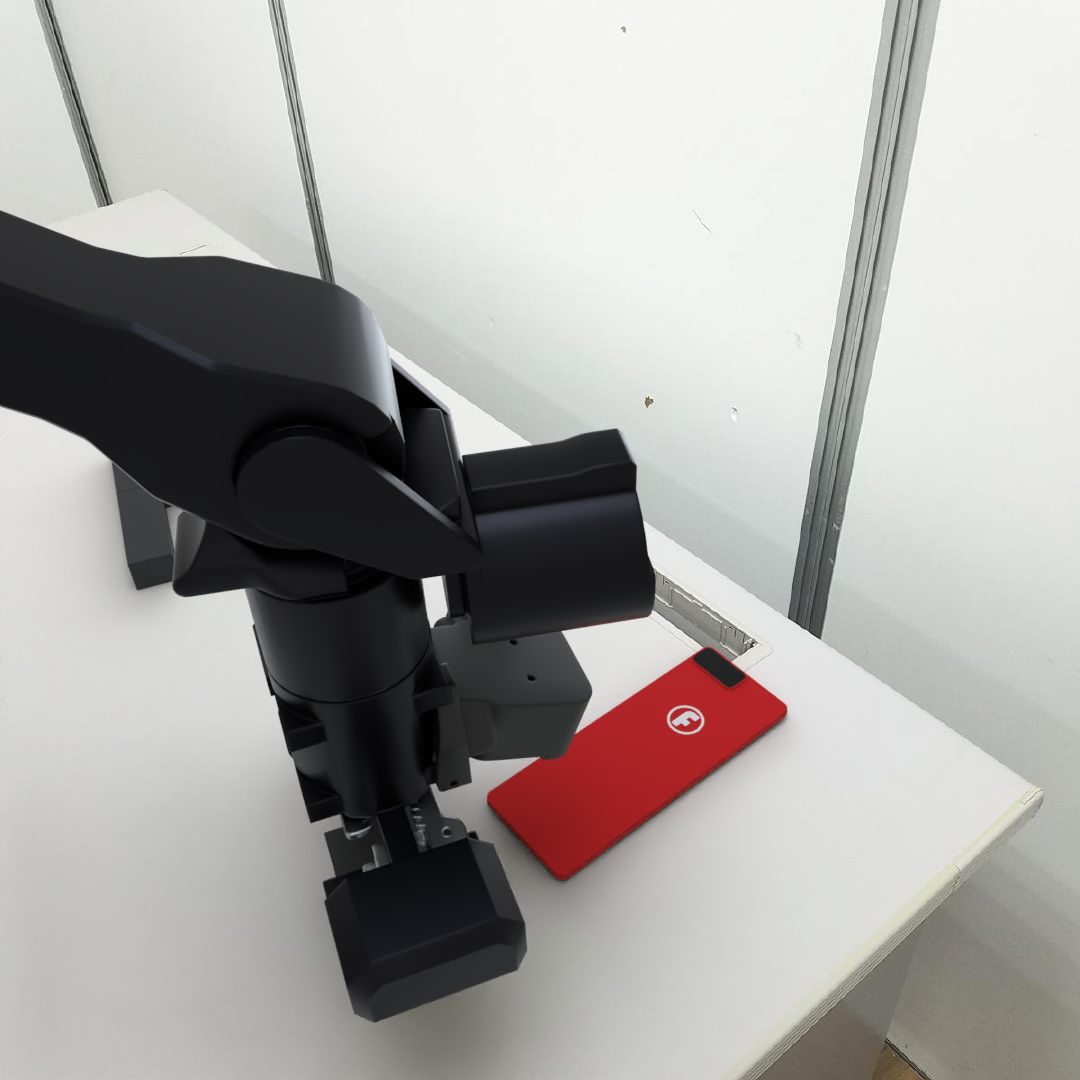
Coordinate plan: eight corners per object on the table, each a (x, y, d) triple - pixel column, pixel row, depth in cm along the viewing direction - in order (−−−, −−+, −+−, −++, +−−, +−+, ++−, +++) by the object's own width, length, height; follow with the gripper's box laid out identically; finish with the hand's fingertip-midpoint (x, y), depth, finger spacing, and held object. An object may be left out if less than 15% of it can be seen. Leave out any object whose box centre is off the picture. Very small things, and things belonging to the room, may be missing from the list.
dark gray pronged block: (136, 590, 66) (127, 564, 65) (115, 454, 76) (106, 430, 75) (339, 537, 69) (334, 511, 68) (293, 413, 79) (287, 389, 78)
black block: (360, 967, 48) (350, 930, 46) (334, 870, 52) (323, 832, 50) (472, 926, 49) (467, 889, 48) (439, 835, 53) (433, 796, 51)
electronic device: (561, 885, 51) (790, 714, 57) (561, 878, 50) (791, 707, 57) (483, 801, 54) (707, 650, 61) (482, 794, 54) (708, 642, 61)
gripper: (675, 773, 35) (657, 1013, 45) (482, 438, 48) (502, 683, 59) (317, 893, 32) (385, 1120, 43) (217, 503, 45) (287, 749, 56)
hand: (399, 886), depth 50 cm, fingers closed on black block, 5 cm apart
